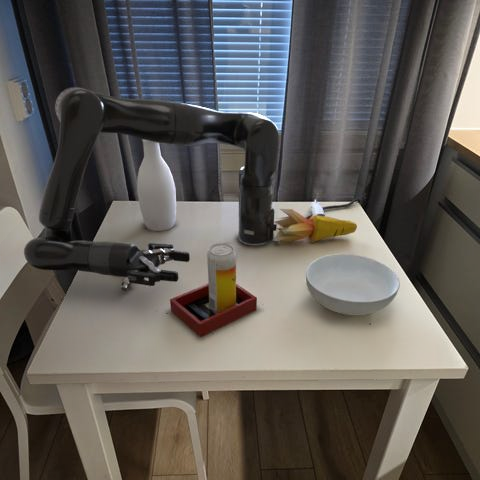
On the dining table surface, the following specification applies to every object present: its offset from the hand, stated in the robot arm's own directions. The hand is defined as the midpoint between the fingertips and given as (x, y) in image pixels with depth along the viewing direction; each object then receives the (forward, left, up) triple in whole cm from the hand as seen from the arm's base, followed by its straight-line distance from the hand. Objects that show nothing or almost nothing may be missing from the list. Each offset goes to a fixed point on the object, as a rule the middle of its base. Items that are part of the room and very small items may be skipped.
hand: (183, 266), depth 99 cm
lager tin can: (-7, +4, -10) cm, 13 cm away
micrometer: (+13, -17, -10) cm, 23 cm away
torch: (-42, -19, -10) cm, 47 cm away
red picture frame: (-5, +5, -10) cm, 12 cm away
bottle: (-2, -43, -10) cm, 44 cm away
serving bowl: (-36, +11, -10) cm, 39 cm away
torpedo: (-50, -31, -10) cm, 59 cm away
